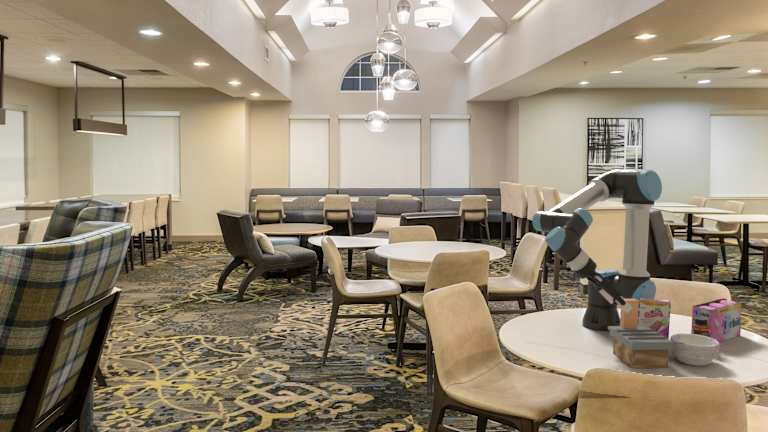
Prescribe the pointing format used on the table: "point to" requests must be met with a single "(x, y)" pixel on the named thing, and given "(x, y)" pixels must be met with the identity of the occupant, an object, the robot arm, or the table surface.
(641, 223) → the robot arm
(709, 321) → the gum box
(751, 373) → the table surface
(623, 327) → the grooved grey block
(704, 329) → the supplement bottle
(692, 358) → the paper bowls
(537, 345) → the table surface
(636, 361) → the tub
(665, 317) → the candy bar box
